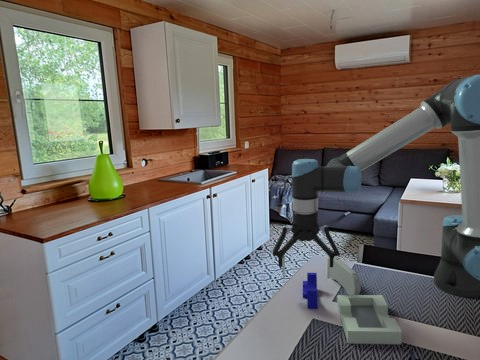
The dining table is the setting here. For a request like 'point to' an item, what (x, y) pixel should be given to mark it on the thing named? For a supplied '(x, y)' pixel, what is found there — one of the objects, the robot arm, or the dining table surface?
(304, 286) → the cable clip
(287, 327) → the dining table surface
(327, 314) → the dining table surface
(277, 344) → the dining table surface
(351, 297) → the holder
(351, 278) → the slide sandal
